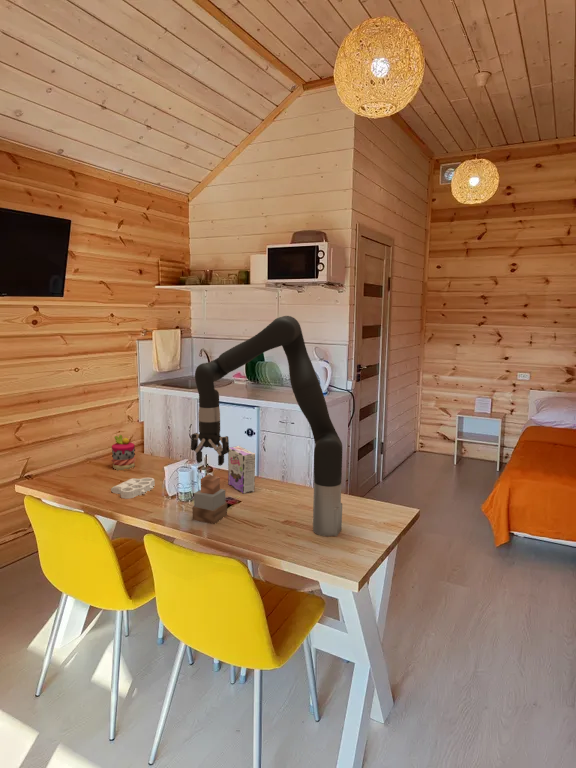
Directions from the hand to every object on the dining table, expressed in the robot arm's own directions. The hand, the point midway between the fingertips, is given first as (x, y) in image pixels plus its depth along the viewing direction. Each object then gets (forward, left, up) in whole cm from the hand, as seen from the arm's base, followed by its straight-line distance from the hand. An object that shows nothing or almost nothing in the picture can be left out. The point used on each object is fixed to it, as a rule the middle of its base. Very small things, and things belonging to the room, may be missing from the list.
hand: (210, 463), depth 182 cm
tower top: (0, +1, -15) cm, 15 cm away
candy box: (+4, -32, -20) cm, 38 cm away
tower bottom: (0, 0, -20) cm, 20 cm away
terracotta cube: (0, 0, -10) cm, 10 cm away
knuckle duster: (+42, -11, -21) cm, 48 cm away
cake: (+67, -34, -20) cm, 78 cm away
